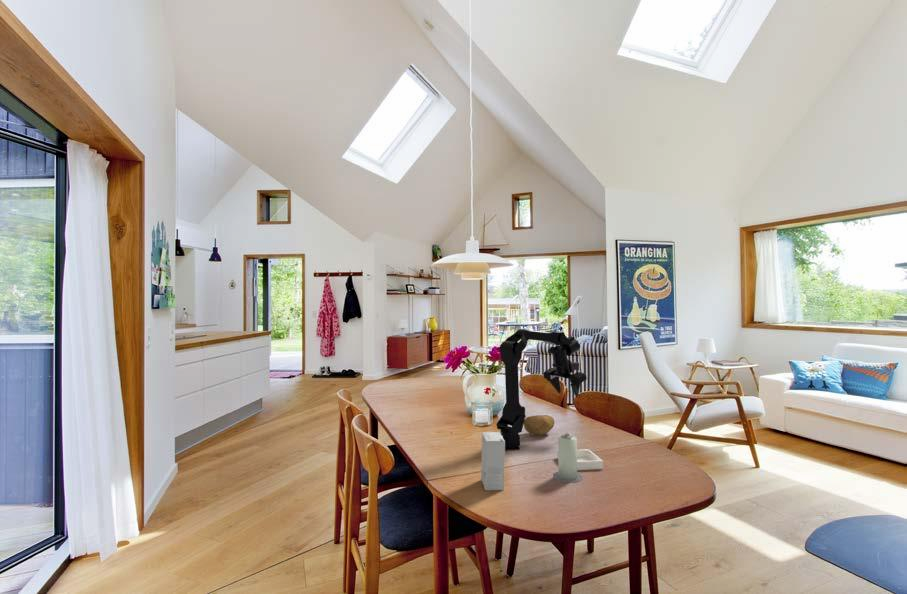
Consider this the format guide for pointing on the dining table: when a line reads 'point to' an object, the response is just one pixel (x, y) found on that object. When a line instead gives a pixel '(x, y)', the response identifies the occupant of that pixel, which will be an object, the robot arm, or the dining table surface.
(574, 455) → the pebble cup
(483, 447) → the skincare box
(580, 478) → the slate coaster
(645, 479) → the dining table surface
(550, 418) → the potato
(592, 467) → the stoneware dish
